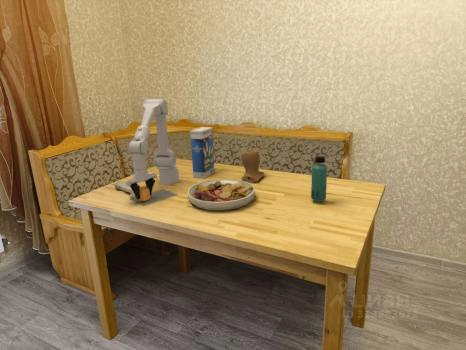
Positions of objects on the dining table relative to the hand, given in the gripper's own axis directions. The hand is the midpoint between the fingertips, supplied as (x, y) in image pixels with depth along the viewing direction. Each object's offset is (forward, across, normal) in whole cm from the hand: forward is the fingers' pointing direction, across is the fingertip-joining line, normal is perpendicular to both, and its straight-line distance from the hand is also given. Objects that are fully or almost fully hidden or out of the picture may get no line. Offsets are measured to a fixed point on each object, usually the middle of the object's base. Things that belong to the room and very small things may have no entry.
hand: (143, 196), depth 149 cm
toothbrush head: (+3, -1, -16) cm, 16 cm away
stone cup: (+3, -56, +16) cm, 58 cm away
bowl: (+3, -24, +25) cm, 35 cm away
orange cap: (+1, 0, 0) cm, 1 cm away
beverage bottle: (+3, -48, +60) cm, 77 cm away
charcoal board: (+2, -5, 0) cm, 6 cm away
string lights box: (+3, -44, -10) cm, 45 cm away
